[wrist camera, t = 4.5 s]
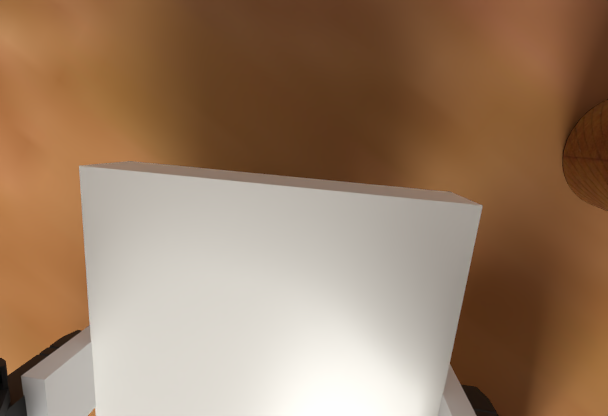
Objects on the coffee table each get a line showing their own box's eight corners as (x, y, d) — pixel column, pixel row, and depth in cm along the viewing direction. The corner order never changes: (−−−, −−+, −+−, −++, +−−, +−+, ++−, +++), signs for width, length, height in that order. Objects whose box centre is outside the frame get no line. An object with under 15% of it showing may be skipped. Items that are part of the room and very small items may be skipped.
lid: (450, 191, 11) (482, 205, 9) (390, 515, 14) (401, 592, 12) (130, 161, 12) (78, 165, 10) (140, 470, 15) (103, 532, 13)
